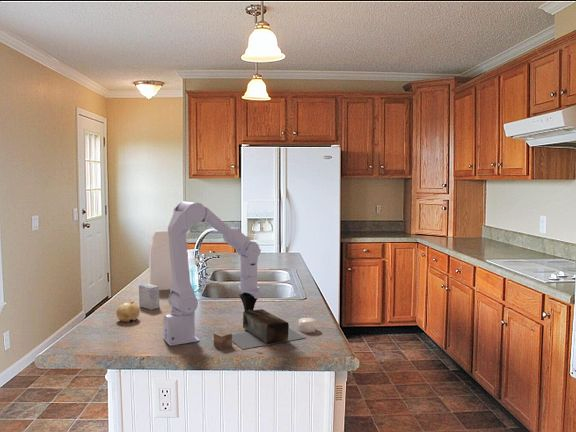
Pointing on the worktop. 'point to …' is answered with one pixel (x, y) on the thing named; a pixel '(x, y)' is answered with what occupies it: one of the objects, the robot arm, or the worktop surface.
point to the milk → (160, 261)
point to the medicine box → (149, 296)
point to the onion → (127, 312)
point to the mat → (252, 341)
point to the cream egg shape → (307, 325)
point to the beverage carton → (265, 326)
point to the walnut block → (222, 339)
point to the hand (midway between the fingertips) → (248, 314)
